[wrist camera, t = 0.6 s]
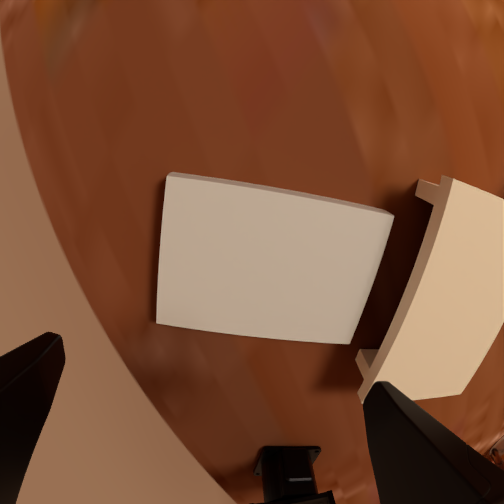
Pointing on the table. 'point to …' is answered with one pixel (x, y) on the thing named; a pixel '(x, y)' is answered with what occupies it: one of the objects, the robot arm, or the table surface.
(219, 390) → the table surface
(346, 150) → the table surface
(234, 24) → the table surface
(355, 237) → the pale wall plate
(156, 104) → the table surface
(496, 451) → the mug
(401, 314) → the cream rectangular slab
